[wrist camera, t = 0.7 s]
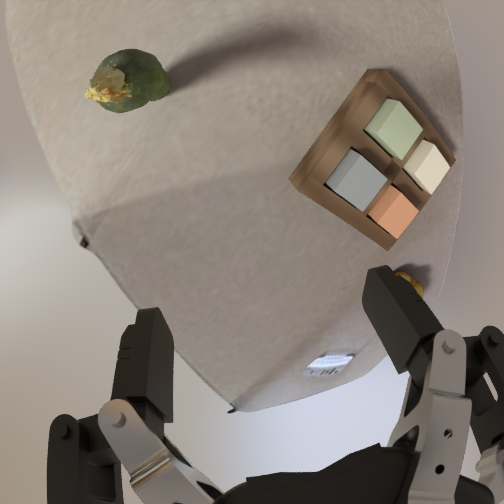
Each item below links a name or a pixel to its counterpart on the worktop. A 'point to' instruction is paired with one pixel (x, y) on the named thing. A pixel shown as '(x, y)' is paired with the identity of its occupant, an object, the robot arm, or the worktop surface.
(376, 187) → the key slate
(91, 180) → the worktop surface
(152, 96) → the vegetable
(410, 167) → the key cream
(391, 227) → the key terracotta
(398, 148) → the key sage
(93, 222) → the worktop surface
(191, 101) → the worktop surface
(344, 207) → the keypad
